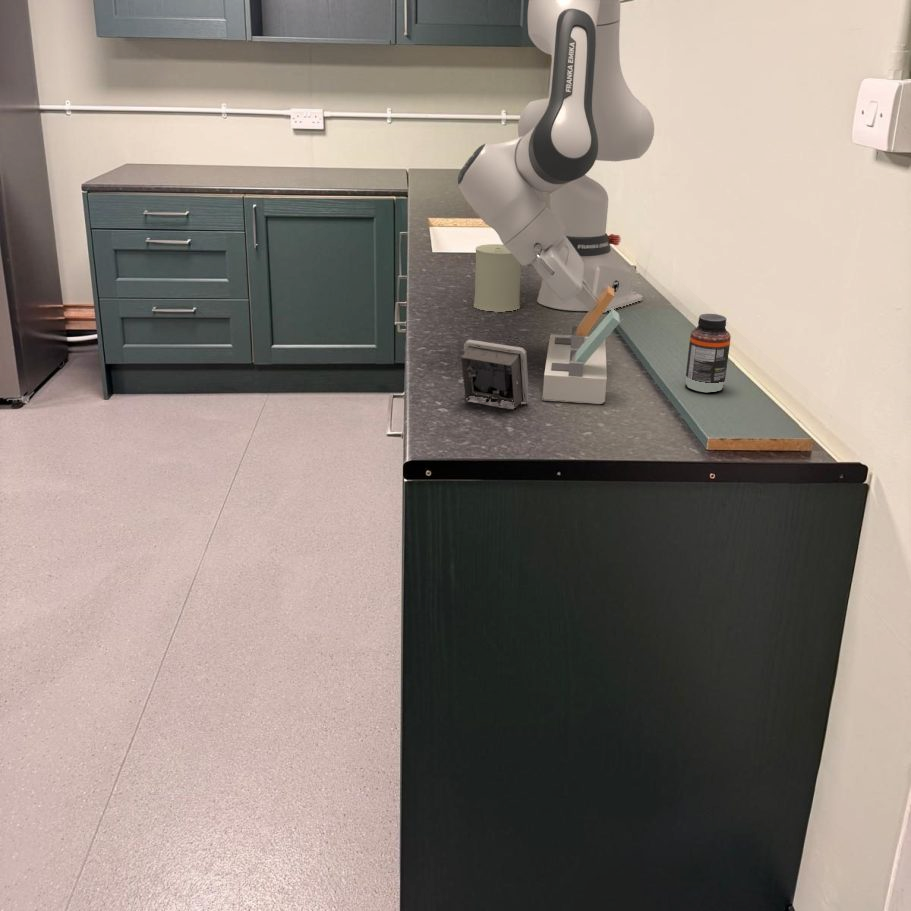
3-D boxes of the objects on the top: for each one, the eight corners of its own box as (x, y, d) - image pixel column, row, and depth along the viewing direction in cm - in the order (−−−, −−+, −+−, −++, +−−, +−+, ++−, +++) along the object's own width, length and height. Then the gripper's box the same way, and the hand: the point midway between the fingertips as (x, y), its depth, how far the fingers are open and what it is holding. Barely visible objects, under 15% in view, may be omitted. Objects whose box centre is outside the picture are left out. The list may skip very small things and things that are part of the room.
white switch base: (542, 401, 142) (544, 361, 139) (550, 347, 167) (552, 313, 165) (604, 405, 141) (608, 365, 138) (602, 350, 166) (605, 316, 164)
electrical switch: (529, 404, 141) (530, 344, 136) (516, 418, 137) (517, 357, 132) (471, 393, 144) (470, 335, 140) (456, 407, 140) (455, 347, 136)
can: (473, 311, 188) (475, 250, 184) (473, 300, 197) (475, 241, 192) (520, 313, 188) (523, 251, 184) (519, 301, 197) (522, 242, 192)
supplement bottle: (695, 379, 153) (704, 309, 149) (730, 388, 150) (740, 316, 145) (677, 388, 149) (685, 316, 144) (713, 397, 145) (723, 324, 141)
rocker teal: (569, 368, 141) (612, 317, 137) (570, 357, 146) (612, 308, 142) (576, 374, 141) (620, 323, 137) (577, 363, 146) (619, 313, 142)
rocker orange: (571, 342, 154) (607, 292, 150) (572, 333, 158) (607, 284, 155) (578, 346, 154) (614, 297, 150) (579, 337, 158) (614, 289, 155)
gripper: (549, 237, 140) (610, 308, 143) (555, 215, 159) (609, 279, 161) (516, 266, 142) (577, 335, 145) (526, 241, 161) (580, 303, 164)
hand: (594, 305), depth 153 cm, fingers closed, pressing on rocker orange
